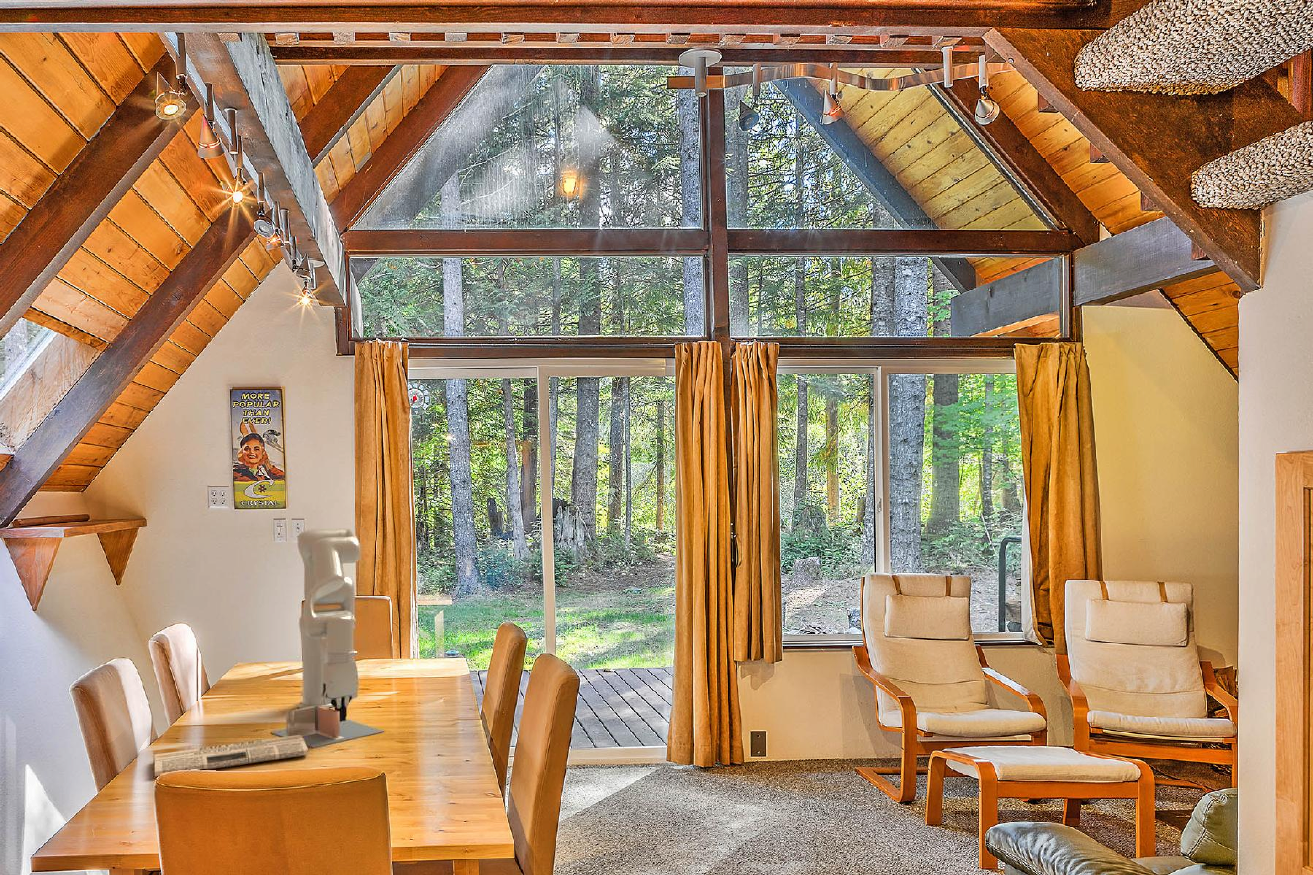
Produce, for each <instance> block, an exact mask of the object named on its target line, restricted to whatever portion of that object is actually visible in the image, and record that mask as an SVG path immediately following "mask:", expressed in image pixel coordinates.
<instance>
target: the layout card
mask: <svg viewBox="0 0 1313 875" xmlns="http://www.w3.org/2000/svg"><path fill="white" fill-rule="evenodd" d="M270 733H271V735H272V734H273V735H275V736H278V737H279V738H281V737H286V728H283V729H278V730H273V731H270ZM382 733H385V730H383V729H379V728H376V727H373V726H369V725H366V724H362V723H359V722H357V721H353V720H350V719H347V718H346V721H342V722H340V736H339V737H332V736H330V735H327V734H325V733H322V732H319V731H315V733H311V734H307V735H302V736H301V737H302V738H303V739H304V741H305V744H306V746H307V748H308V747H309V748H312V749H316V748H320V747H323V746H325V747H326V746H329V745H333V744H337V743H341V742H346V741H351V740H354V739H355V740H356V739H359V738H364V737H368V736H373V735H377V734H382Z"/></svg>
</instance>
